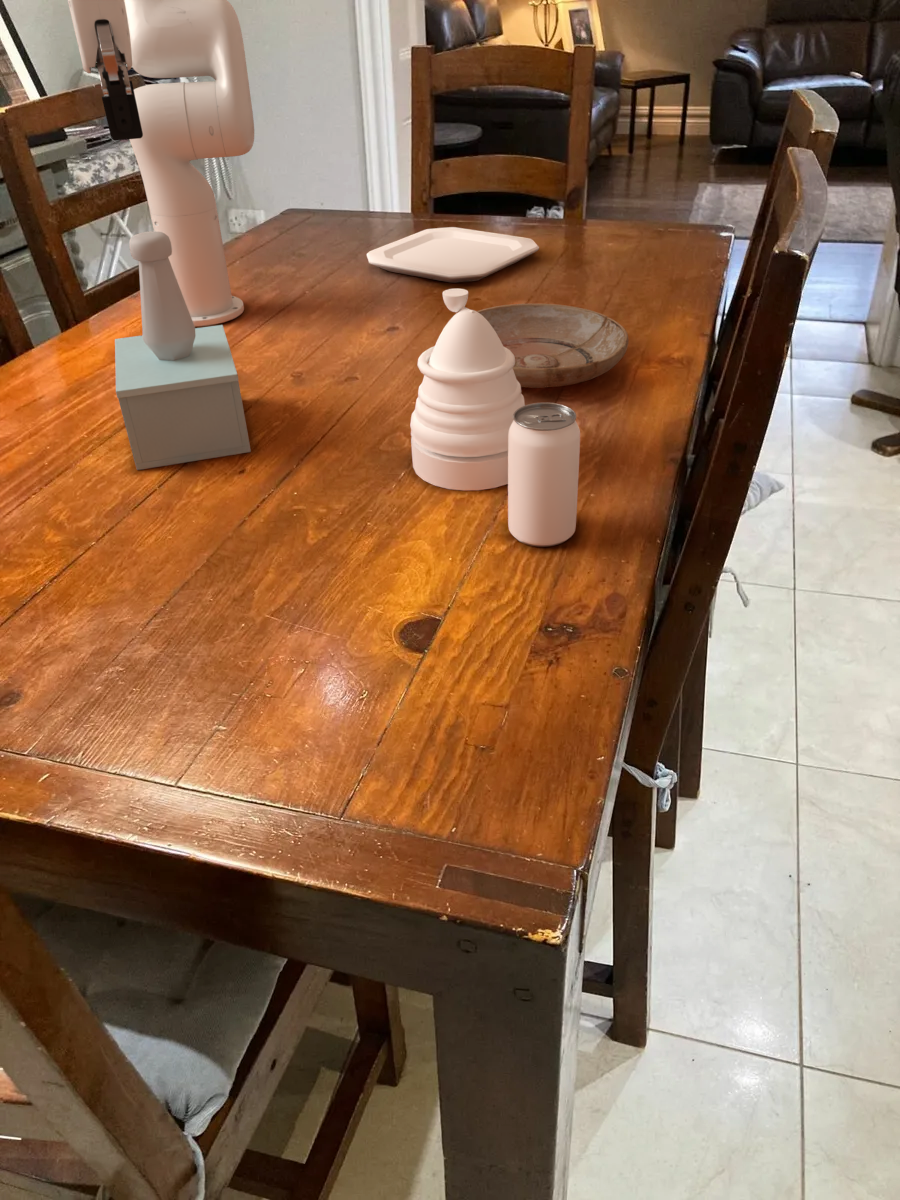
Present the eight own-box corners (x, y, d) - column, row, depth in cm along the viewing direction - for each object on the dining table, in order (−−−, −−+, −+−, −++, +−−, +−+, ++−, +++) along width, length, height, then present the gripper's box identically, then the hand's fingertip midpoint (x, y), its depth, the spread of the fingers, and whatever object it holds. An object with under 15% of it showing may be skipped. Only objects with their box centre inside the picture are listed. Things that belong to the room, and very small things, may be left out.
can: (504, 516, 92) (503, 402, 85) (568, 511, 93) (573, 398, 86) (513, 551, 87) (513, 433, 80) (581, 546, 87) (588, 428, 80)
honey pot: (390, 458, 103) (376, 296, 93) (481, 425, 109) (478, 269, 99) (459, 503, 95) (453, 329, 84) (554, 465, 101) (560, 298, 90)
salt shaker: (186, 365, 102) (160, 242, 95) (138, 362, 103) (108, 241, 96) (207, 345, 107) (184, 227, 99) (161, 343, 108) (135, 226, 100)
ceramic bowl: (464, 414, 112) (463, 375, 109) (436, 345, 131) (434, 310, 128) (650, 396, 114) (654, 356, 112) (596, 330, 133) (598, 295, 130)
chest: (251, 452, 106) (237, 378, 101) (136, 470, 103) (117, 395, 98) (236, 399, 118) (224, 331, 113) (133, 414, 116) (116, 345, 110)
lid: (238, 381, 100) (237, 373, 100) (117, 398, 98) (115, 391, 97) (223, 331, 113) (222, 324, 113) (116, 345, 110) (114, 338, 110)
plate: (438, 236, 178) (437, 224, 176) (550, 253, 165) (550, 240, 164) (353, 270, 162) (352, 257, 160) (470, 292, 149) (470, 278, 148)
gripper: (46, -65, 96) (90, 120, 106) (38, -62, 82) (89, 149, 93) (122, -69, 97) (158, 114, 108) (125, -66, 84) (166, 142, 94)
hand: (126, 130), depth 100 cm, fingers open, 9 cm apart
